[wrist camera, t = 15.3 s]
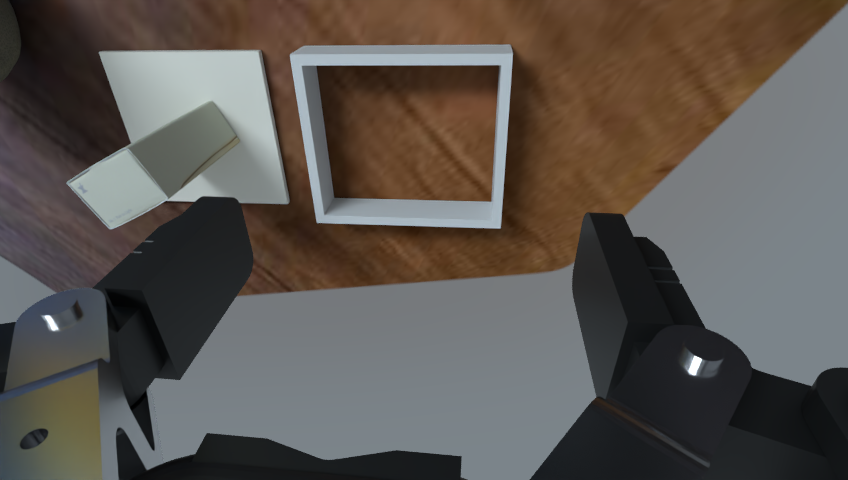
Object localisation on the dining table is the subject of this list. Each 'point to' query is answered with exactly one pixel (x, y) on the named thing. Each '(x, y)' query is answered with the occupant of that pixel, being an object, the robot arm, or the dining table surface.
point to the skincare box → (154, 166)
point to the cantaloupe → (8, 39)
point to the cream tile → (190, 88)
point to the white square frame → (394, 209)
